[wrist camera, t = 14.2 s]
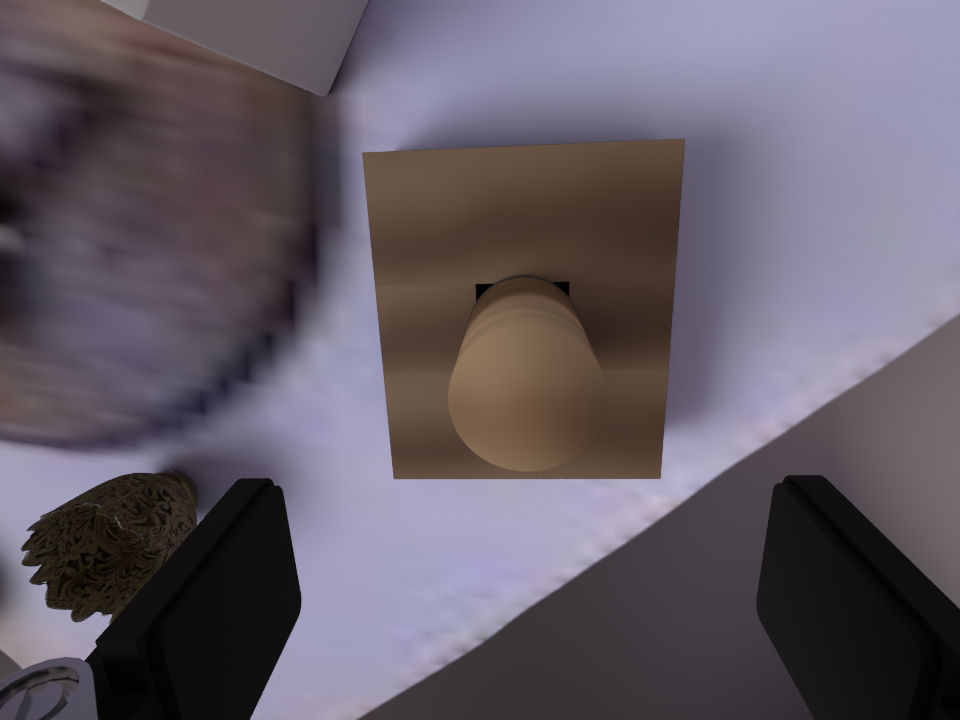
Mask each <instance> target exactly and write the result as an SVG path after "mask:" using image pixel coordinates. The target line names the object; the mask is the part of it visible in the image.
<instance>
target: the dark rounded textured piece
mask: <svg viewBox="0 0 960 720" xmlns="http://www.w3.org/2000/svg"><path fill="white" fill-rule="evenodd" d="M197 504H198V492H197V489H196V487H195V485H194V484H193V482H192V481H191V480H190V479H189V478H187V477H186V476H184V475H183V474H180V473H178V472H174V471H163V472H158V473H155V474H151V473H132V474H127V475H122V476H119V477H116V478H113V479H111V480H109V481H106V482H104V483H102V484H100V485H98V486H96V487H94V488H92V489H90V490H88V491H86V492H85V493H83V494H81V495H79V496H77V497H76V498H74V499H72V500H70V501H68V502H67V503H65V504H63V505H62V506H60V507H58V508H56V509H55V510H53V511H51V512H49V513H46V514H44V515H42V516H41V517H40V518H41V520H39V521H38V522H36V523H34V524H33V525H32V526H30V527H29V528H28V529H27V531H32V532H33V531H35V532H34V533H33V534H32V535H31V536H30V538H29V539H28V540H27V541H26V543H25V544H24V545H23V546H22V548H21V551H26V550H27V551H28V550H29V551H28V552H27V553H26V555H25V557H24V559H23V561H22V565H24V566H30V567H31V566H39V565H41V564H42V565H41V567H40V568H38V569H39V570H38V571H37V572H36V573H35V574H34V575H33V576H32V578H31V579H30V581H29V582H30V583H31V584H34V585H35V584H36V585H42V584H44V583H42V582H45V581H46V582H47V583H45V584H46V585H47V591H46V594H45V600H46V605H47V607H49V608H52V609H60V610H73V611H72V613H71V619H72V620H73V621H74V622H82V621H84V620H85V619H87V617H90V616H91V615H93V614H94V612H95V613H96V612H101V613H102V616H106V615H109V614H112V618H111V619H110V622H109V625H110V624H111V623H112V622H113V621H114V619H115V618H116V617H117V616H118V615H119V614H120V613H121V611H122V610H123V609H124V608H125V607H126V606H127V605H128V604H129V602H130V601H131V600H132V599H133V598H134V597H135V596H136V595H137V593H138V592H139V591H140V590H141V589H142V588H143V587H144V585H145V584H146V583H147V582H148V581H149V580H150V579H151V578H152V576H153V575H154V574H155V573H156V572H157V571H158V570H159V568H160V567H161V566H162V565H163V564H164V563H165V562H166V561H167V559H168V558H169V557H170V556H171V555H172V554H173V553H174V551H175V550H176V549H177V548H178V547H179V546H180V545H181V544H182V542H183V541H184V540H185V539H186V538H187V537H188V536H189V534H190V533H191V532H192V531H193V530H194V529H195V528H196V527H197V517H196V511H195V510H196V508H197Z"/></svg>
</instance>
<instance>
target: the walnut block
mask: <svg viewBox="0 0 960 720" xmlns="http://www.w3.org/2000/svg"><path fill="white" fill-rule="evenodd" d="M684 144H685V139H666V140H643V141H620V142H597V143H574V144H551V145H528V146H504V147H481V148H458V149H435V150H412V151H389V152H366V153H362V156H363V166H364V176H365V187H366V197H367V207H368V218H369V228H370V238H371V249H372V259H373V269H374V280H375V290H376V300H377V311H378V321H379V331H380V342H381V352H382V363H383V373H384V383H385V394H386V404H387V414H388V425H389V435H390V445H391V456H392V466H393V476H394V479H661V465H662V451H663V437H664V423H665V409H666V395H667V381H668V367H669V353H670V339H671V325H672V312H673V298H674V284H675V270H676V256H677V242H678V228H679V214H680V200H681V186H682V172H683V158H684ZM521 275H526V276H535V277H540V278H543V279H546V280H548V281H550V282H561V289H562V290H563V291H564V292H565V293H566V294H567V295H568V297H569V298H570V300H571V301H572V303H573V305H574V307H575V309H576V311H577V314H578V317H579V320H580V323H581V325H582V327H583V329H584V332H585V334H586V336H587V338H588V341H589V343H590V345H591V347H592V350H593V352H594V354H595V356H596V359H597V361H598V363H599V366H600V368H601V370H602V373H603V376H604V379H605V382H606V388H607V408H606V413H605V417H604V420H603V423H602V425H601V428H600V430H599V431H598V433H597V435H596V437H595V438H594V439H593V440H592V442H591V443H590V444H589V445H588V446H587V447H586V448H585V449H584V450H583V451H582V452H581V453H580V454H578V455H577V456H576V457H574V458H573V459H571V460H569V461H568V462H566V463H564V464H561V465H559V466H557V467H553V468H550V469H546V470H541V471H530V472H525V471H515V470H509V469H505V468H502V467H498V466H496V465H494V464H491V463H489V462H487V461H486V460H484V459H482V458H481V457H479V456H478V455H477V454H475V453H474V452H473V451H472V450H471V449H470V448H469V447H468V446H467V445H466V444H465V443H464V441H463V440H462V439H461V438H460V436H459V434H458V433H457V431H456V429H455V427H454V425H453V422H452V420H451V416H450V412H449V406H448V390H449V383H450V380H451V377H452V373H453V370H454V367H455V364H456V361H457V358H458V355H459V352H460V349H461V346H462V343H463V340H464V337H465V333H466V330H467V327H468V324H469V318H470V315H471V312H472V309H473V307H474V305H475V303H476V302H477V300H478V298H479V297H480V296H481V295H482V294H483V291H482V284H494V283H497V282H499V281H501V280H503V279H506V278H509V277H513V276H521Z"/></svg>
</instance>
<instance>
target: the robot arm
mask: <svg viewBox="0 0 960 720" xmlns="http://www.w3.org/2000/svg"><path fill="white" fill-rule="evenodd" d="M756 605H757V612H758V616H759V619H760V621H761V623H762V625H763V627H764V629H765V631H766V632H767V634H768V636H769V638H770V640H771V641H772V643H773V645H774V647H775V649H776V651H777V652H778V654H779V656H780V658H781V660H782V661H783V663H784V665H785V667H786V669H787V670H788V672H789V674H790V676H791V678H792V679H793V681H794V683H795V685H796V687H797V688H798V690H799V692H800V694H801V696H802V697H803V699H804V701H805V703H806V705H807V707H808V708H809V710H810V712H811V714H812V716H813V717H814V719H815V720H960V609H959V608H958V607H957V606H956V605H955V604H954V603H953V602H952V601H951V600H950V599H949V598H948V597H947V596H946V595H945V594H944V593H943V592H941V590H940V589H939V588H938V587H936V585H934V584H933V582H931V581H930V580H929V579H928V578H927V577H926V576H925V575H924V574H923V573H922V572H921V571H920V570H919V569H918V568H917V567H916V566H915V565H914V564H913V563H912V562H911V561H910V560H909V559H908V558H907V557H906V556H905V555H904V554H903V553H902V552H901V551H900V550H899V549H898V548H897V547H896V546H895V545H894V544H892V542H891V541H890V540H889V539H887V538H886V537H885V536H884V535H883V534H882V533H881V532H880V531H879V530H878V529H877V528H876V527H875V526H874V525H873V524H872V523H871V522H870V521H869V520H868V519H867V518H866V517H865V516H864V515H863V514H862V513H861V512H860V511H859V510H858V509H857V508H856V507H855V506H854V505H853V504H852V503H851V502H850V501H849V500H848V499H847V498H846V497H845V496H844V495H842V494H841V493H840V492H839V491H838V490H837V489H836V488H835V487H834V486H833V485H832V484H831V483H830V482H829V481H828V480H827V479H826V478H825V477H823V476H821V475H788V476H786V477H785V479H784V480H783V482H782V483H777V484H776V485H775V486H774V489H773V494H772V500H771V507H770V514H769V520H768V527H767V534H766V541H765V547H764V553H763V560H762V567H761V573H760V580H759V586H758V593H757V602H756ZM300 610H301V592H300V586H299V580H298V575H297V569H296V563H295V558H294V552H293V546H292V540H291V535H290V529H289V523H288V518H287V512H286V506H285V500H284V495H283V491H282V488H281V487H280V486H274V483H273V481H272V480H271V479H269V478H249V479H239V480H238V481H236V482H235V483H234V485H233V486H232V487H231V488H230V489H229V490H228V491H227V493H226V494H225V495H224V496H223V497H222V498H221V499H220V500H219V502H218V503H217V504H216V505H215V506H214V507H213V508H212V510H211V511H210V512H209V513H208V514H207V515H206V516H205V517H204V519H203V520H202V521H201V522H200V523H199V524H198V525H197V527H196V528H195V529H194V530H193V531H192V532H191V533H190V534H189V536H188V537H187V538H186V539H185V540H184V541H183V542H182V544H181V545H180V546H179V547H178V548H177V549H176V550H175V551H174V553H173V554H172V555H171V556H170V557H169V558H168V559H167V561H166V562H165V563H164V564H163V565H162V566H161V567H160V568H159V570H158V571H157V572H156V573H155V574H154V575H153V576H152V578H151V579H150V580H149V581H148V582H147V583H146V584H145V585H144V587H143V588H142V589H141V590H140V591H139V592H138V593H137V595H136V596H135V597H134V598H133V599H132V600H131V601H130V602H129V604H128V605H127V606H126V607H125V608H124V609H123V610H122V611H121V613H120V614H119V615H118V616H117V617H116V618H115V619H114V621H113V622H112V623H111V624H110V625H109V626H108V627H107V628H106V630H105V631H104V632H103V633H102V634H101V635H100V636H99V638H98V639H97V640H96V641H95V642H96V645H97V647H96V648H95V649H94V650H93V652H92V653H91V654H90V655H89V656H88V657H87V658H86V660H85V661H83V660H81V659H80V658H70V657H63V658H56V659H50V660H46V661H43V662H41V663H38V664H35V665H32V666H29V667H27V668H25V669H23V670H21V671H19V672H17V673H15V674H13V675H11V676H9V677H8V678H7V679H5V680H4V681H2V682H1V683H0V720H250V718H251V716H252V714H253V712H254V710H255V708H256V705H257V703H258V701H259V699H260V697H261V695H262V693H263V691H264V689H265V687H266V684H267V682H268V680H269V678H270V676H271V674H272V672H273V670H274V668H275V665H276V663H277V661H278V659H279V657H280V655H281V653H282V651H283V649H284V647H285V644H286V642H287V640H288V638H289V636H290V634H291V632H292V630H293V628H294V625H295V623H296V621H297V619H298V617H299V614H300Z"/></svg>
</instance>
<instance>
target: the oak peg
mask: <svg viewBox="0 0 960 720" xmlns="http://www.w3.org/2000/svg"><path fill="white" fill-rule="evenodd" d="M448 406H449V412H450V416H451V420H452V422H453V425H454V427H455V429H456V431H457V433H458V434H459V436H460V438H461V439H462V440H463V441H464V443H465V444H466V445H467V446H468V447H469V448H470V449H471V450H472V451H473V452H474V453H475V454H477V455H478V456H479V457H481V458H482V459H484V460H486V461H487V462H489V463H491V464H494V465H496V466H498V467H502V468H505V469H509V470H515V471H525V472H530V471H541V470H546V469H550V468H553V467H557V466H559V465H561V464H564V463H566V462H568V461H569V460H571V459H573V458H574V457H576V456H577V455H578V454H580V453H581V452H582V451H583V450H584V449H585V448H586V447H587V446H588V445H589V444H590V443H591V442H592V440H593V439H594V438H595V437H596V435H597V433H598V431H599V430H600V428H601V425H602V423H603V420H604V417H605V413H606V408H607V388H606V382H605V379H604V376H603V373H602V370H601V368H600V366H599V363H598V361H597V359H596V356H595V354H594V352H593V350H592V347H591V345H590V343H589V341H588V338H587V336H586V334H585V332H584V329H583V327H582V325H581V323H580V320H579V317H578V314H577V311H576V309H575V307H574V305H573V303H572V301H571V300H570V298H569V297H568V295H567V294H566V293H565V292H564V291H563V290H562V289H561V288H559V287H558V286H557V285H555V284H554V283H552V282H550V281H548V280H546V279H543V278H540V277H535V276H526V275H521V276H513V277H509V278H506V279H503V280H501V281H499V282H497V283H495V284H493V285H492V286H491V287H489V288H488V289H487V290H486V291H485V292H484V293H483V294H482V295H481V296H480V297H479V298H478V300H477V302H476V303H475V305H474V307H473V309H472V312H471V315H470V318H469V324H468V327H467V330H466V333H465V337H464V340H463V343H462V346H461V349H460V352H459V355H458V358H457V361H456V364H455V367H454V370H453V373H452V377H451V380H450V383H449V390H448Z"/></svg>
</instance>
